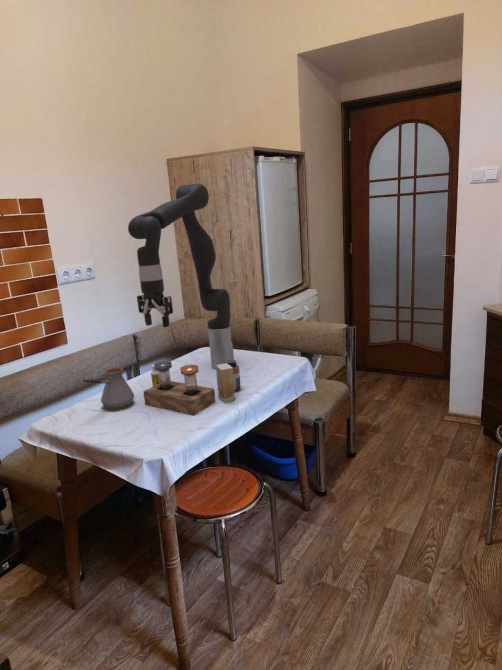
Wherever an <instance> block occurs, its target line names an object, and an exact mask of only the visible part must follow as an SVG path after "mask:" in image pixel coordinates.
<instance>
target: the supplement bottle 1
mask: <svg viewBox="0 0 502 670" xmlns="http://www.w3.org/2000/svg"><path fill="white" fill-rule="evenodd" d="M154 364H155V363H153V364H152V365H151V372H150V376H151V382H152V383H151V384H152V387H154V386H156V385H158V384H159V376H158V370H155V368H154Z"/></svg>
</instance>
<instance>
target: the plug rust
mask: <svg viewBox="0 0 502 670" xmlns="http://www.w3.org/2000/svg"><path fill="white" fill-rule="evenodd" d="M179 371H180V374H181V375H183V377H184V379H183V380H184V383H185V388H186V395H189V396H194V395H196V394H198V389H197V386H198V381H197V373H199V371H200V370H199V365H197V364H186V365H183V366H181V367H180V369H179Z"/></svg>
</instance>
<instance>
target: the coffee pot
mask: <svg viewBox="0 0 502 670" xmlns="http://www.w3.org/2000/svg"><path fill="white" fill-rule="evenodd" d="M123 373H124V369H123V368H122V367H121V368H120V367H113V368H109V369H105V370H104V372H103V374H104V375H105V376H106V380H99V379H94V378H93V379H90V378H88V379H82V380H81V381H80V382H79V385H80V386H81V387H85V386H86V385H87V384H104V388H103V391H102V394H101V398H100V402H101V404H102V405H103V406H104V407H107V408H108V410H120V409H124V408H127V407H128V406H130V404H131V403H132V402H133V400H134V398H135V394H134V392H133V390H132V388H131V387H130V385H129V384H128V382H127V381H126V379H125V378H124V376H123ZM82 382H83V383H85V384H84V385H82V384H81V383H82Z"/></svg>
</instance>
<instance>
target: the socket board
mask: <svg viewBox="0 0 502 670" xmlns="http://www.w3.org/2000/svg"><path fill="white" fill-rule="evenodd" d="M171 387H172V388H171V389H169V390H167V391H163V390H160V384H158V385H156V386H154V387H153V386H151V387H150V388H149V387H148V389H145V390H144V391H142V392H143V400H144V405H145V406H149V407H155V408H158V409H163V410H168V411H171V412H177V413H182V414H184V415H185V414H186V415H189V416H190V415H191V416H195V415H196V414H198V413H200V412H202V411H203V410H205V409H207V408H208V407H210V406H211V405H213V404H215V403H216V394H215V388H214V387H208V386H207V387H206V386H201V385H197V389H198V394H196V395H194V396H189V395H186V388H185V382H180V381H175V380H174V381H173V380H171Z"/></svg>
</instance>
